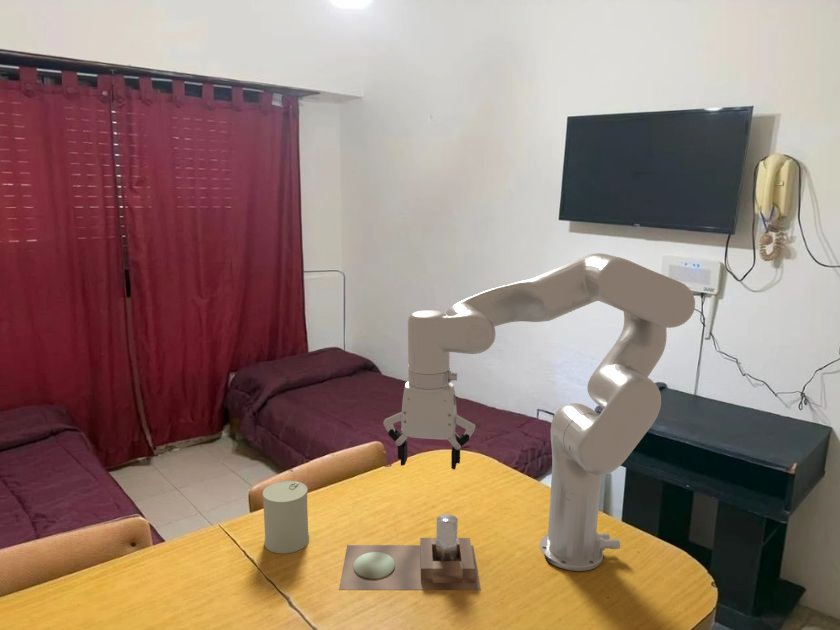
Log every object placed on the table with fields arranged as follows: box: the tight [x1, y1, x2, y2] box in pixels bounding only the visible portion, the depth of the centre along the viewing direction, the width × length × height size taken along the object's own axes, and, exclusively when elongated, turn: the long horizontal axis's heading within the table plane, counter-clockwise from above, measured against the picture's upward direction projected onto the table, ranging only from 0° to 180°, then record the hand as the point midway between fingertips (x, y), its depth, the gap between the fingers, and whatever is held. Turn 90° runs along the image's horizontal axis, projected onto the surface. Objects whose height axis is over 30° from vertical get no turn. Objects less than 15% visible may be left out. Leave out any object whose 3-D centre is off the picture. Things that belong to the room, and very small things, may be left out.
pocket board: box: [338, 537, 481, 591], centre depth 116 cm, size 26×14×4 cm, turn 91°
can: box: [262, 480, 310, 555], centre depth 125 cm, size 9×9×12 cm
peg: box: [435, 513, 459, 561], centre depth 116 cm, size 4×4×10 cm
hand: (428, 464), depth 113 cm, fingers open, 9 cm apart
